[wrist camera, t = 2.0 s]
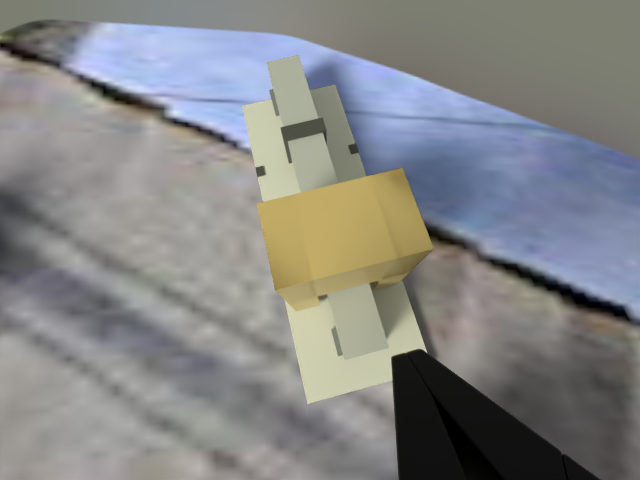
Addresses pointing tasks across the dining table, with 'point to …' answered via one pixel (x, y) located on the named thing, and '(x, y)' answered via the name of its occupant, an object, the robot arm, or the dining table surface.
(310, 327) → the pipe stand
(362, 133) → the dining table surface
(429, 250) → the sleeve
